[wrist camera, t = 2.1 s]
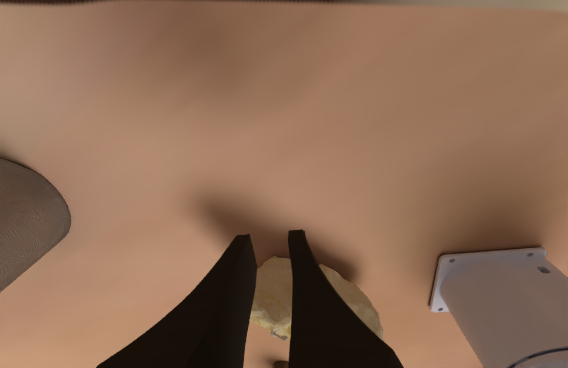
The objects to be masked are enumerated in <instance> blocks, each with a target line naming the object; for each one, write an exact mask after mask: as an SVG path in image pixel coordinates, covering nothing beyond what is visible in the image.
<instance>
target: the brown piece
mask: <svg viewBox="0 0 568 368" xmlns="http://www.w3.org/2000/svg"><path fill="white" fill-rule="evenodd" d="M288 364H289V363H288V362H286V361H279V362H276V363H275V364H274V367H273V368H288Z"/></svg>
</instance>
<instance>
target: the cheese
mask: <svg viewBox="0 0 568 368" xmlns="http://www.w3.org/2000/svg"><path fill="white" fill-rule="evenodd" d="M319 266H320V268H321V270H322V271H323V273H324V274H325V276H326V277H327V279H328V280H329V282H330V283H331V285H332V286H333V287H334V289H335V290H336V291H337V293H338V294H339V295H340V296H341V298H342V299H343V300H344V301H345V303H346V304H347V305H348V306H349V307H350V308H351V309H352V310H353V312H354V313H355V314H356V315H357V316H358V317H359V318H360V319H361V320H362V321H363V322H364V323H365V324H366V325H367V326H368V327H369V328H370V329H371V330H372V331H373V332H374V333H375V334H376V335H377V336H378V337H379V338H380V339H381V340H383V329H382V326H381V323H380V319H379V315H378V312H377V311H376V310H375V308H374V307H373V306H372V303H371V301H370V300H369V299H368V297H367V296H366V295H365V294H364V293H363V292H362V291H361V290H360V288H358V287H357V286H356V285H355V284H353V283H351V282H349V281H347V280H345V279H343V278H342V277H341V276H340V275H339V274H338V273H337V272H336V271H335V270H333V269H330V268H328V267H326V266H324V265H323V264H320V265H319ZM292 282H293V280H292V268H291V260H290V258H278V257H276V256H272V257H271V258H270V259H269V260H267V261H265V262H264V264H263V265H262V266H261V267H260V268H258V269H257V278H256V289H255V294H254V299H253V305H252V310H251V315H250V320H249V321H252V322H254V323H256V324H258V325H259V326H261V327H264V328H266V329H268V330H270V331H271V336H273V337H278V338H280V339H283V340H285V341H287V339H289V340H290V337H291V317H292ZM277 334H279V335H281V336H282V337H280V336H278V335H277Z"/></svg>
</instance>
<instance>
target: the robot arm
mask: <svg viewBox="0 0 568 368" xmlns="http://www.w3.org/2000/svg"><path fill="white" fill-rule="evenodd" d="M288 244H289V252H290V260H291V268H292V280H293V282H292V317H291V337H290V351H289V364H288V368H404V367H403V366H402V364H401V362H400V360H399V359H398V357H397V356H396V354H395V352H394V351H393V349H392V348H390V347H389V346H388V345H387V344H386V343H385V342H384V341H383V340H381V339H380V338H379V337H378V336H377V335H376V334H375V333H374V332H373V331H372V330H371V329H370V328H369V327H368V326H367V325H366V324H365V323H364V322H363V321H362V320H361V319H360V318H359V317H358V316H357V315H356V314H355V313H354V312H353V310H352V309H351V308H350V307H349V306H348V305H347V304H346V303H345V301H344V300H343V299H342V298H341V296H340V295H339V294H338V293H337V291H336V290H335V289H334V287H333V286H332V285H331V283H330V282H329V280H328V279H327V277H326V276H325V274H324V273H323V271H322V270H321V268H320V266H319V265H318V263H317V261H316V259H315V257H314V255H313V254H312V251H311V249H310V247H309V245H308V242H307V239H306V236H305V231H303V230H291V231H289V235H288ZM546 254H547V250H545V249H544V248H542V247H538V248H525V249H513V250H500V251H487V252H475V253H462V254H449V255H443V256H441V257H440V258H439V262H438V267H437V272H436V277H435V282H434V287H433V292H432V297H431V302H430V310H431V311H432V312H449V311H450V313H451V314H452V316H453V318H454V319H455V321H456V322H457V324H458V326H459V327H460V329H461V331H462V332H463V334H464V336H465V337H466V339H467V341H468V342H469V344H470V346H471V347H472V349H473V350H474V352H475V354H476V355H477V357H478V359H479V360H480V362H481V364H482V365H483V367H484V368H568V277H567V276H566V275H564V274H563V273H562V272H561V271H560V270H558V269H557V268H556V267H555V266H554V265H552V264H551V263H550V262H549V261H547V260H546V259H545V257H546ZM450 259H451V260H450ZM256 278H257V263H256V259H255V255H254V251H253V246H252V242H251V238H250V234H246V235H237V236H236V237H235V238H234V240H233V241H232V242H231V244H230V245H229V247H228V248H227V249H226V251H225V252H224V253H223V255H222V256H221V258H220V259H219V260H218V261H217V263H216V264H215V265H214V267H213V268H212V269H211V270H210V272H209V273H208V274H207V275H206V276H205V277H204V279H203V280H202V281H201V282H200V283H199V284H198V285H197V286H196V288H195V289H194V290H193V291H192V292H191V293H190V294H189V295H188V296H187V297H186V298H185V299H184V300H183V301H182V302H181V303H180V304H179V305H177V306H176V307H175V308H174V309H173V310H172V311H171V312H169V313H168V314H167V315H166V316H165V317H164V318H163V319H161V320H160V321H159V322H158V323H157V324H155V325H154V326H153V327H152V328H150V329H149V330H148V331H147V332H145V333H144V334H143V335H141V336H140V337H139V338H137V339H136V340H135V341H133V342H132V343H130V344H129V345H128V346H126V347H125V348H123V349H122V350H120V351H119V352H117V353H116V354H114V355H113V356H111V357H110V358H108V359H107V360H105V361H104V362H102V363H101V364H99V365H98V366H97V367H96V368H243V363H244V353H245V343H246V337H247V331H248V326H249V320H250V315H251V310H252V305H253V299H254V294H255V289H256Z"/></svg>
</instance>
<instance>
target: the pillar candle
mask: <svg viewBox="0 0 568 368" xmlns="http://www.w3.org/2000/svg"><path fill="white" fill-rule="evenodd" d="M70 225H71V218H70V213H69V210H68V206H67V204H66V202H65V201H64V199H63V197H62V196H61V195H60V194H59V192H58V190H56V188H55V187H54V186H53V185H51V184H50V183H49V182H48V181H47V180H46V179H45V178H44V177H43V176H41V175H40V174H38V173H36V172H34V171H32V170H30V169H27V168H25V167H22V166H20V165H18V164H15V163H13V162H10V161H7V160H5V159H2V158H0V292H1V291H2V290H4V289H5V288H6V287H7V286H8V285H10V284H11V283H12V282H13V281H14V280H16V279H17V278H18V277H19V276H20V275H21V274H22V273H24V272H25V271H26V270H27V269H28V268H30V267H31V266H32V265H33V264H34V263H35V262H37V261H38V260H39V259H40V258H41V257H42V256H44V255H45V254H46V253H47V252H48V251H49V250H51V249H52V248H53V247H54V246H55V245H57V244H58V243H59V242H60V241H61V240H62V239H63V238H64V237H65V236H66V235H67V233H68V232H69V228H70Z"/></svg>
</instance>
